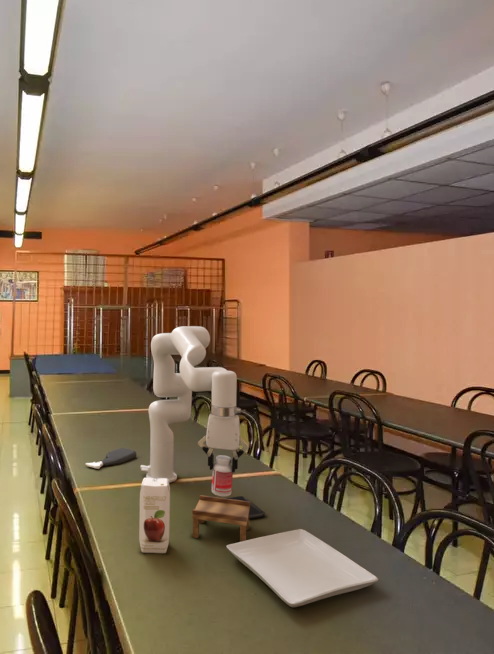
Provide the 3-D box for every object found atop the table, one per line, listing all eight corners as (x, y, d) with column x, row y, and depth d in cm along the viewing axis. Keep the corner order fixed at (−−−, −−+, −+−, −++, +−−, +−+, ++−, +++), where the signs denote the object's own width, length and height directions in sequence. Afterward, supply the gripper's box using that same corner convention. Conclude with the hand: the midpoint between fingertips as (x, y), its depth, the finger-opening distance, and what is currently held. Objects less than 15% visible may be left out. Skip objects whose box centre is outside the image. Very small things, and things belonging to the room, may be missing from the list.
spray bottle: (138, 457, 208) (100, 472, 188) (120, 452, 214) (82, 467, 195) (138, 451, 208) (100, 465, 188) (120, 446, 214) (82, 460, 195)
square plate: (291, 620, 98) (291, 603, 98) (224, 557, 123) (224, 543, 123) (380, 592, 109) (380, 576, 109) (302, 539, 134) (302, 526, 134)
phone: (245, 516, 146) (223, 498, 160) (245, 519, 146) (223, 501, 160) (266, 513, 149) (243, 495, 163) (266, 516, 149) (243, 498, 163)
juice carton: (140, 540, 132) (141, 476, 132) (169, 541, 132) (170, 476, 132) (138, 554, 124) (139, 485, 124) (169, 555, 124) (170, 486, 124)
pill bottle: (235, 494, 138) (238, 459, 137) (220, 498, 134) (222, 462, 134) (222, 487, 143) (224, 452, 142) (207, 490, 139) (209, 455, 139)
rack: (191, 537, 134) (192, 510, 134) (199, 520, 146) (200, 494, 146) (246, 546, 130) (246, 517, 130) (249, 527, 141) (250, 501, 141)
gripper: (253, 410, 138) (252, 469, 139) (198, 406, 143) (197, 462, 144) (251, 416, 131) (250, 477, 131) (193, 411, 136) (192, 470, 136)
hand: (222, 469), depth 138 cm, fingers closed on pill bottle, 6 cm apart
